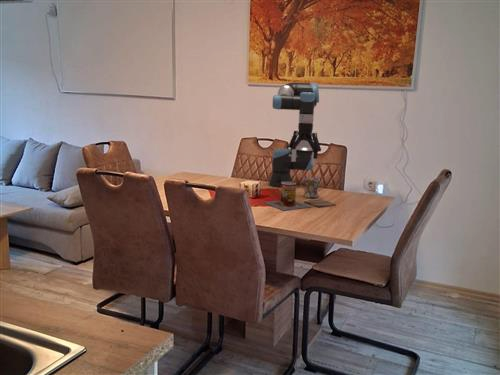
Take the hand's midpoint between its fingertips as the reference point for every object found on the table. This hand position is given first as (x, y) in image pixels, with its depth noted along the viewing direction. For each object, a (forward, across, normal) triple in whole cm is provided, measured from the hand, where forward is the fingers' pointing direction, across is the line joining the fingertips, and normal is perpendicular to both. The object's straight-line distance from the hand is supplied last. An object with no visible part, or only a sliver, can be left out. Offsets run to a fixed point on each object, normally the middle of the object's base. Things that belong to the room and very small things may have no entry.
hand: (303, 163), depth 247 cm
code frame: (+22, -3, -8) cm, 24 cm away
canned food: (+22, -3, -8) cm, 24 cm away
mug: (+22, -9, +18) cm, 30 cm away
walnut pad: (+22, +6, +9) cm, 25 cm away
